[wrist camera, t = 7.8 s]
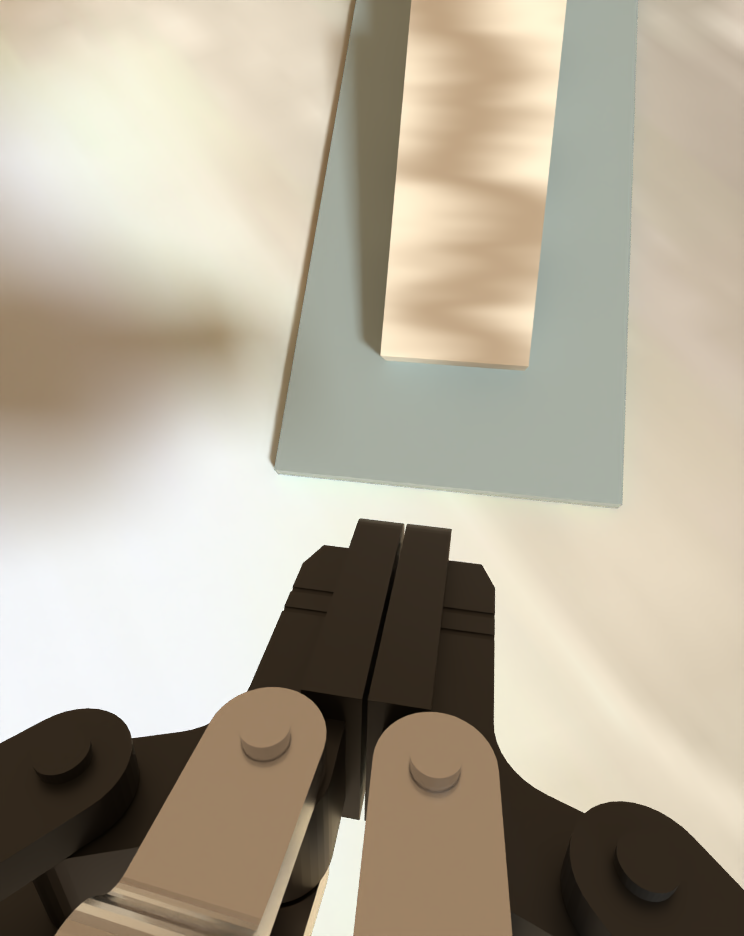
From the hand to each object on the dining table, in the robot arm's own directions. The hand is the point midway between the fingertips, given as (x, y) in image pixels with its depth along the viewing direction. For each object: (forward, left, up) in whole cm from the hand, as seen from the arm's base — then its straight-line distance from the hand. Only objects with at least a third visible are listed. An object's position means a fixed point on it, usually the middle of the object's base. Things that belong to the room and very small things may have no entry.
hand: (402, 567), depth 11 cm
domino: (0, -8, -10) cm, 13 cm away
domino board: (0, -17, -11) cm, 21 cm away
